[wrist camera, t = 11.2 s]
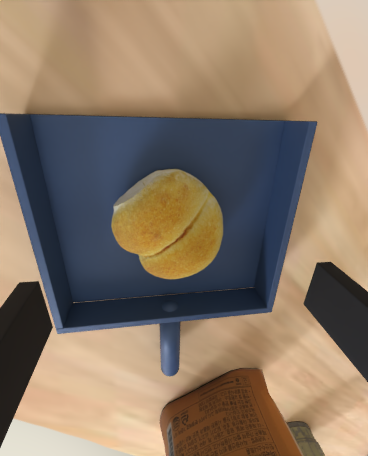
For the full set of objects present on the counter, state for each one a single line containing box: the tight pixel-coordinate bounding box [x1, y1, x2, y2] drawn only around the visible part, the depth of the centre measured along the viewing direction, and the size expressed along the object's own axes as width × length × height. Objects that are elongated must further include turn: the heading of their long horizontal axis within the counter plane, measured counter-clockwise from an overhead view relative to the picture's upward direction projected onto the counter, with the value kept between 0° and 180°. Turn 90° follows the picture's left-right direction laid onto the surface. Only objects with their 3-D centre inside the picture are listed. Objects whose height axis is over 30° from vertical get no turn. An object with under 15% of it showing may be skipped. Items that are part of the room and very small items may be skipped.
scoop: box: [0, 113, 317, 376], centre depth 21 cm, size 26×19×4 cm
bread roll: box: [111, 169, 223, 279], centre depth 18 cm, size 8×9×4 cm
